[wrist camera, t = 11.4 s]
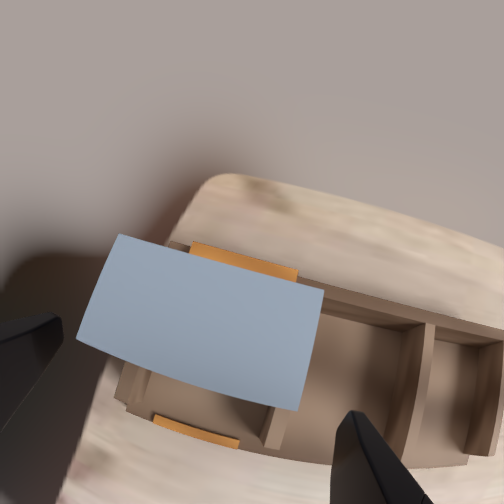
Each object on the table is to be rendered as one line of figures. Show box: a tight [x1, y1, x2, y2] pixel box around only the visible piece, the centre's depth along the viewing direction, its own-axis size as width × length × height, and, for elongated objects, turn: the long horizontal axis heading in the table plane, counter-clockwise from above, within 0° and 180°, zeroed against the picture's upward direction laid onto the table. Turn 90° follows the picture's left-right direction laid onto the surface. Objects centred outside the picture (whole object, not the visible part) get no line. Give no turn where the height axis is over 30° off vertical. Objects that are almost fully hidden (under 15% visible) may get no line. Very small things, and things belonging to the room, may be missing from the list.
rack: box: [114, 241, 504, 469], centre depth 16 cm, size 11×25×5 cm, turn 75°
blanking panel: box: [76, 234, 324, 412], centre depth 12 cm, size 3×6×12 cm, turn 75°
